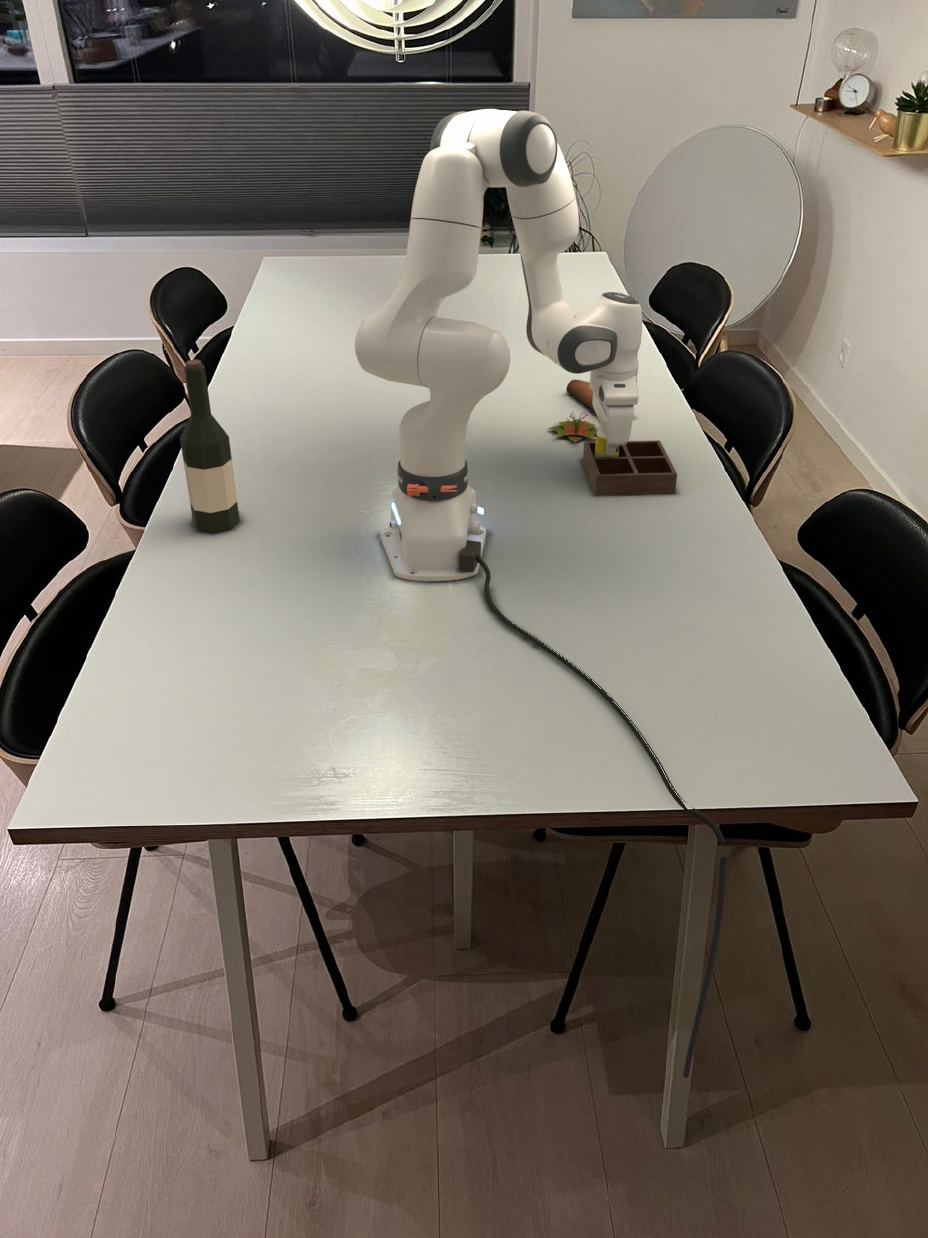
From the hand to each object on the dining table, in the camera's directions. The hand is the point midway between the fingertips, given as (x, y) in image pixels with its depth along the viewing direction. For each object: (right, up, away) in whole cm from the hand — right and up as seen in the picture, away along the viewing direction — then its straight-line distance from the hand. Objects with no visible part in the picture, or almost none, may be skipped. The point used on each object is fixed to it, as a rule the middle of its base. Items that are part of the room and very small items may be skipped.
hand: (607, 447), depth 206 cm
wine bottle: (-73, -17, -17) cm, 77 cm away
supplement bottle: (0, -3, +2) cm, 3 cm away
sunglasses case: (+2, +14, +29) cm, 32 cm away
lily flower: (-4, +5, +17) cm, 18 cm away
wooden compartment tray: (+4, -6, 0) cm, 7 cm away
